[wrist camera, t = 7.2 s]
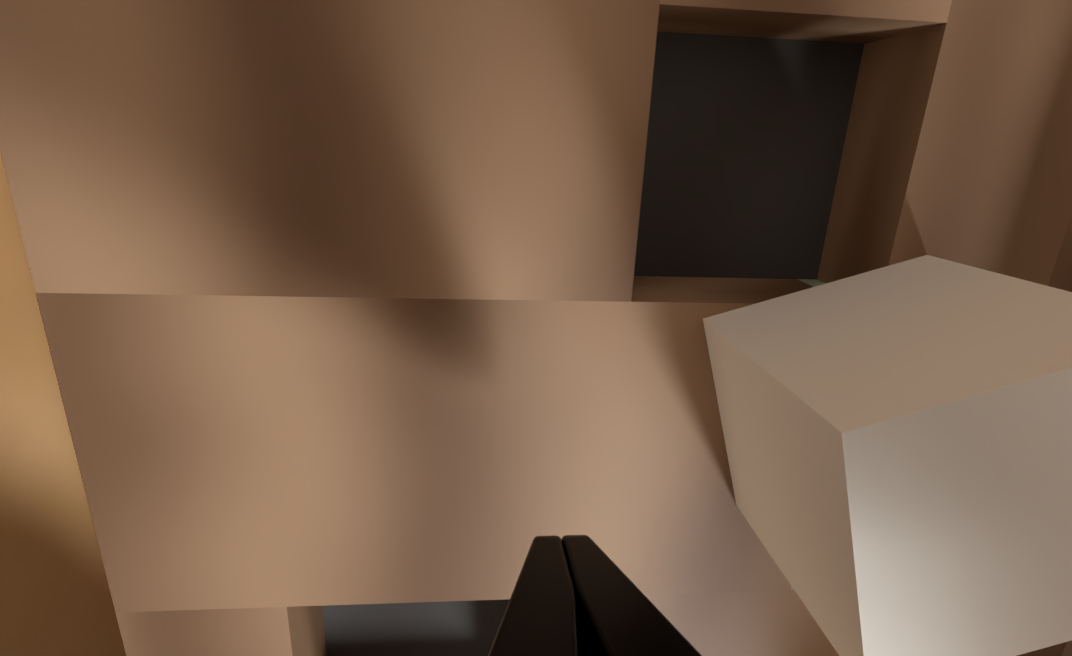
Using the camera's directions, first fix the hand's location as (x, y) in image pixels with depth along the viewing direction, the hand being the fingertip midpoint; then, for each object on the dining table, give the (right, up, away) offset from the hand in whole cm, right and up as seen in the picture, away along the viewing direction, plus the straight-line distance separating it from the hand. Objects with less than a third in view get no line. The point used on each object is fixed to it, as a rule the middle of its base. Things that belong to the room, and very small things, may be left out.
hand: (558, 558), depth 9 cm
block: (+6, +2, +3) cm, 7 cm away
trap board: (0, +2, +5) cm, 5 cm away
